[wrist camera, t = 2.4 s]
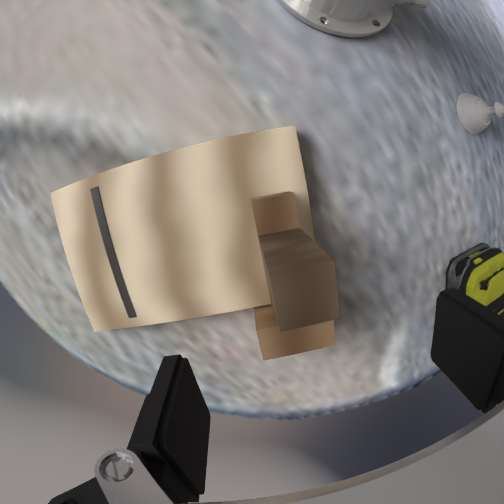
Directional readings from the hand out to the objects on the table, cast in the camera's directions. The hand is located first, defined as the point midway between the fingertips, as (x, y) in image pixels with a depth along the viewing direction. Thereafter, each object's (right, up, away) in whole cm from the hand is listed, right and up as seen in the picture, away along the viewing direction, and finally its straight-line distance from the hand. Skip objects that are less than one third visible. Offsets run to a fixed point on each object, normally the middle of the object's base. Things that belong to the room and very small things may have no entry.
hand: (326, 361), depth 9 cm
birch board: (-9, +5, +15) cm, 18 cm away
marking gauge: (0, +3, +16) cm, 16 cm away
